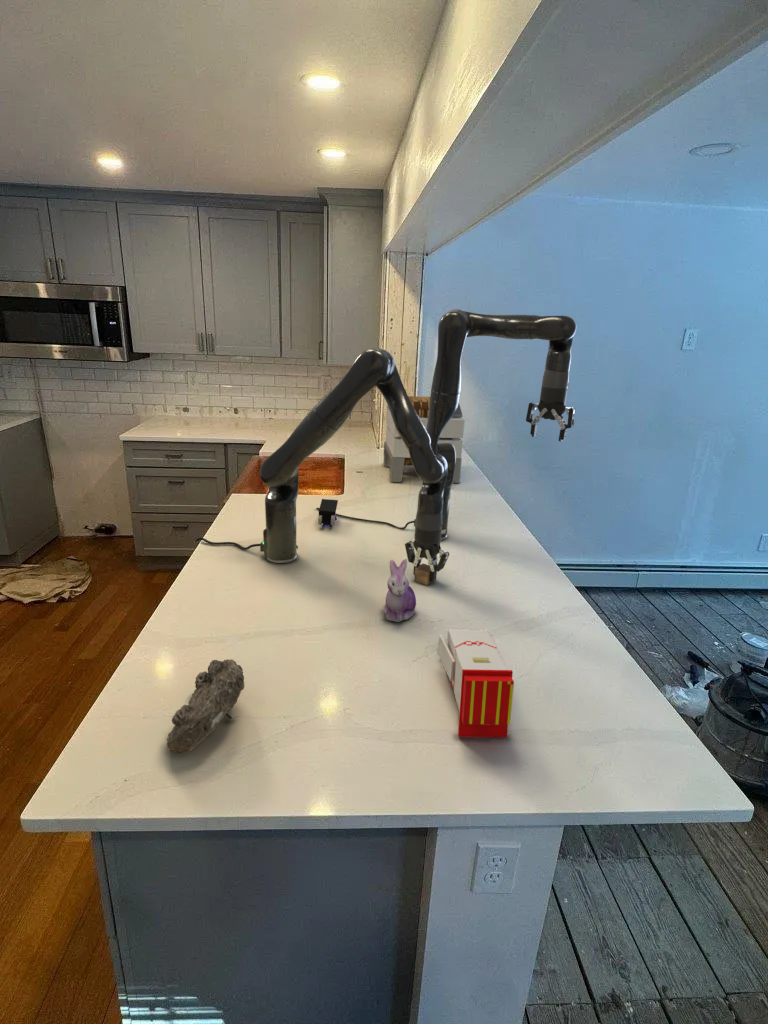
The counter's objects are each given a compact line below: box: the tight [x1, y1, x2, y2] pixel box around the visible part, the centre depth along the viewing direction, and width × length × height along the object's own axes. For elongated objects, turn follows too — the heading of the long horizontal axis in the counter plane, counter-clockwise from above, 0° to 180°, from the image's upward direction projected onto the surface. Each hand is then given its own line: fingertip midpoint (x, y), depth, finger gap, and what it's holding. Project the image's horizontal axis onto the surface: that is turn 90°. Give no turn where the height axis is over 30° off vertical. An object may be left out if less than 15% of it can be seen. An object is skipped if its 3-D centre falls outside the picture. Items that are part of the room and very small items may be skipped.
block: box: [413, 562, 431, 586], centre depth 166 cm, size 4×4×4 cm
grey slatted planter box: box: [383, 389, 465, 484], centre depth 268 cm, size 34×33×41 cm
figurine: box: [384, 558, 417, 623], centre depth 145 cm, size 9×10×15 cm
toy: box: [437, 628, 515, 738], centre depth 117 cm, size 12×13×30 cm
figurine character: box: [317, 498, 339, 530], centre depth 204 cm, size 7×8×15 cm
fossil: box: [166, 658, 245, 754], centre depth 106 cm, size 22×10×15 cm
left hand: (424, 579), depth 166 cm, fingers closed on block, 4 cm apart
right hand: (547, 438), depth 176 cm, fingers open, 8 cm apart
